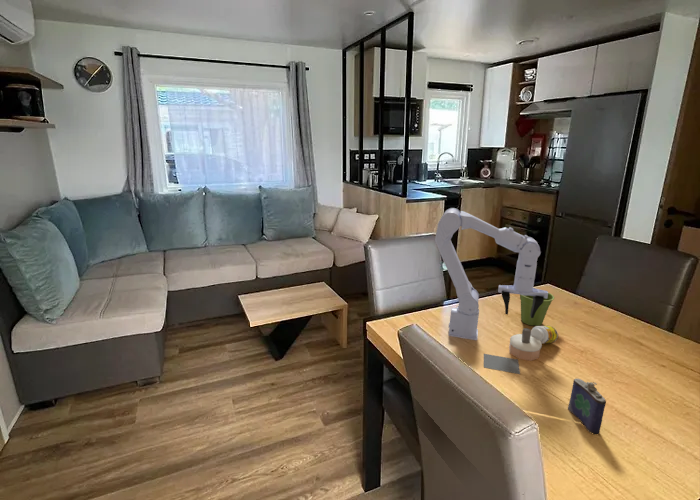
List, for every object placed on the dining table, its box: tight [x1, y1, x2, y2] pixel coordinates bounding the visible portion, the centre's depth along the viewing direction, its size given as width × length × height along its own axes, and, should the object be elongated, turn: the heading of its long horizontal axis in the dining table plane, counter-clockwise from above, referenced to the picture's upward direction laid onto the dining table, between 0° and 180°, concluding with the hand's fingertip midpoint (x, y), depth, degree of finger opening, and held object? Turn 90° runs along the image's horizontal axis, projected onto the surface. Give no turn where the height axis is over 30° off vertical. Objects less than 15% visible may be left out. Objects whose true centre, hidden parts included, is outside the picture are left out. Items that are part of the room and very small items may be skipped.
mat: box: [483, 353, 521, 375], centre depth 115 cm, size 10×8×1 cm
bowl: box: [508, 343, 541, 361], centre depth 121 cm, size 8×8×4 cm
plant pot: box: [519, 292, 555, 327], centre depth 141 cm, size 12×12×11 cm
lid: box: [509, 327, 543, 352], centre depth 119 cm, size 9×9×5 cm
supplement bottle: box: [530, 325, 559, 344], centre depth 125 cm, size 6×6×10 cm
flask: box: [567, 378, 607, 435], centre depth 91 cm, size 9×3×11 cm, turn 8°
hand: (519, 314), depth 125 cm, fingers open, 7 cm apart
